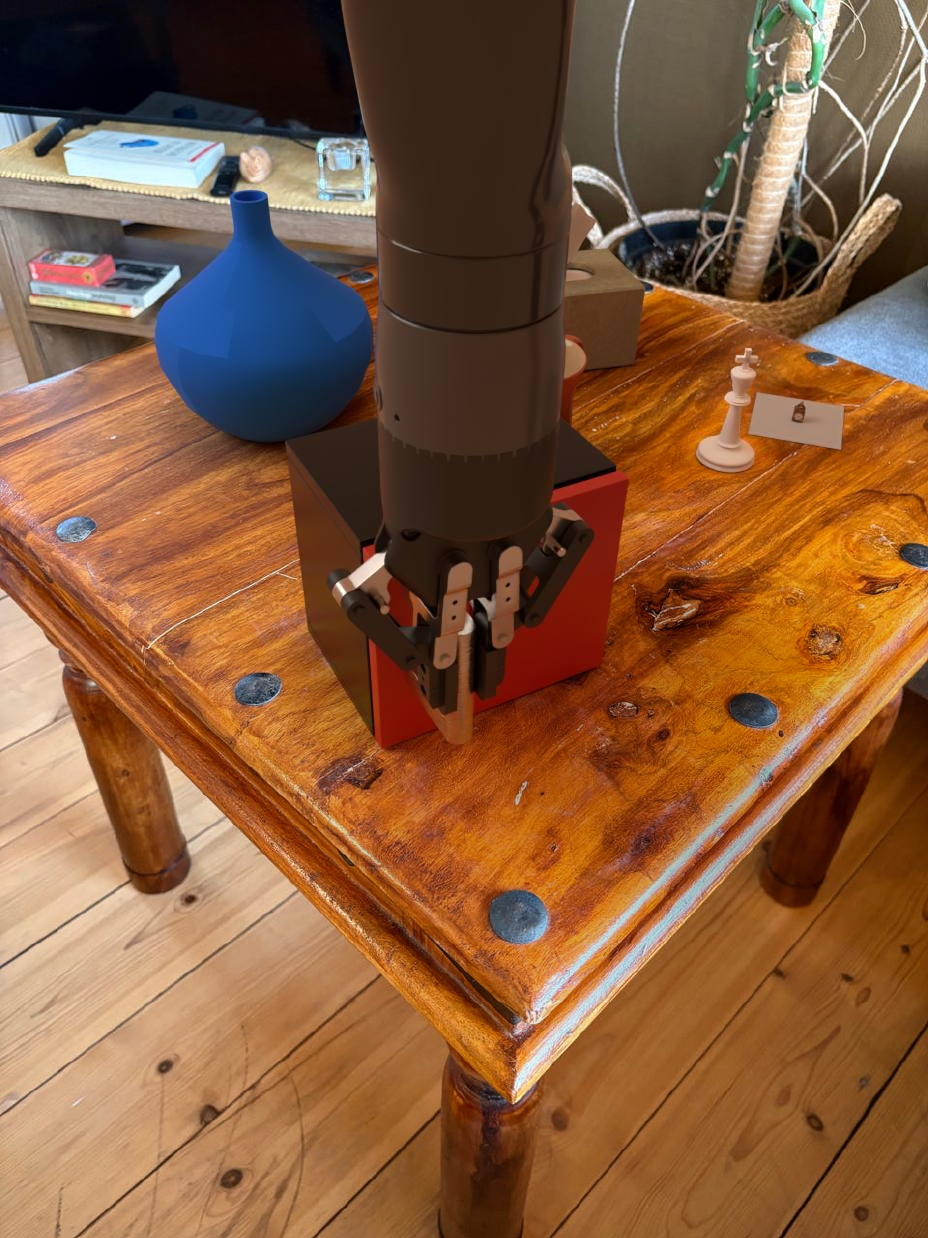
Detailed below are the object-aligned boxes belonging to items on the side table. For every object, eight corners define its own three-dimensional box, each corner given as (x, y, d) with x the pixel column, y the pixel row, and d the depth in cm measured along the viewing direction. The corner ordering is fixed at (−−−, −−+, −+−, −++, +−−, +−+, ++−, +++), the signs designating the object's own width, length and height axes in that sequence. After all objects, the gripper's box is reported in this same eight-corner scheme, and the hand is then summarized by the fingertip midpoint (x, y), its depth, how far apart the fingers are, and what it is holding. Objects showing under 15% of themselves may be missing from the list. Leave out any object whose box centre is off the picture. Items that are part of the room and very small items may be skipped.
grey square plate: (748, 433, 88) (752, 415, 87) (756, 392, 94) (761, 374, 93) (841, 449, 86) (846, 431, 85) (844, 406, 92) (849, 388, 91)
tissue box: (453, 386, 94) (455, 216, 83) (429, 341, 101) (427, 179, 90) (638, 365, 98) (661, 200, 87) (602, 322, 105) (620, 165, 94)
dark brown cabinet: (591, 655, 67) (617, 465, 57) (372, 737, 61) (359, 541, 51) (509, 564, 74) (520, 381, 64) (307, 629, 68) (284, 440, 58)
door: (654, 722, 62) (694, 533, 52) (424, 819, 56) (421, 626, 46) (593, 655, 66) (619, 469, 57) (374, 739, 60) (362, 547, 51)
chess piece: (759, 473, 83) (787, 364, 77) (700, 472, 83) (723, 363, 77) (747, 442, 87) (772, 335, 81) (691, 441, 87) (712, 334, 81)
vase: (402, 448, 86) (396, 224, 73) (188, 486, 81) (141, 253, 68) (347, 354, 98) (334, 150, 86) (159, 382, 94) (115, 170, 81)
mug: (539, 510, 79) (549, 394, 72) (451, 473, 83) (452, 360, 76) (612, 446, 86) (627, 335, 80) (528, 415, 90) (535, 307, 83)
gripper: (348, 489, 35) (370, 794, 47) (660, 404, 40) (610, 699, 52) (276, 395, 40) (311, 692, 52) (562, 329, 45) (536, 614, 57)
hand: (461, 695), depth 52 cm, fingers closed on door
